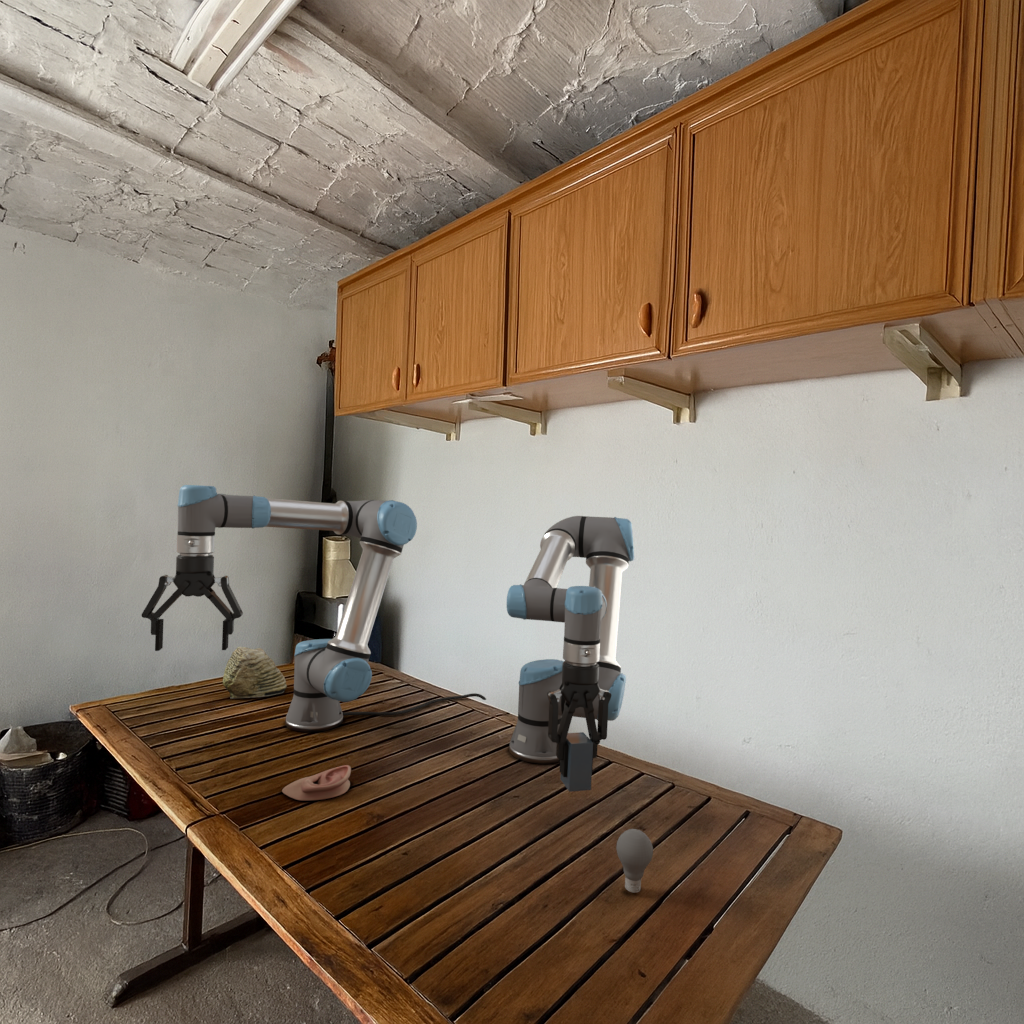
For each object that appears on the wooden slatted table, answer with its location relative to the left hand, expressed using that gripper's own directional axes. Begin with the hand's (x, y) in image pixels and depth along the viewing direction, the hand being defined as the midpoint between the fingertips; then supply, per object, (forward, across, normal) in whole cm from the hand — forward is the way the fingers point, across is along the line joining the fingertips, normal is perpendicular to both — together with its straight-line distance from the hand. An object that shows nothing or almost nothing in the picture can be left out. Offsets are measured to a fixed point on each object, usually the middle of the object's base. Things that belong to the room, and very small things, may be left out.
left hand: (192, 649), depth 141 cm
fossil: (+28, +5, +56) cm, 63 cm away
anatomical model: (+28, +29, -12) cm, 42 cm away
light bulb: (+28, +82, -56) cm, 104 cm away
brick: (+22, +81, -29) cm, 89 cm away
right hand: (+20, +81, -29) cm, 88 cm away
